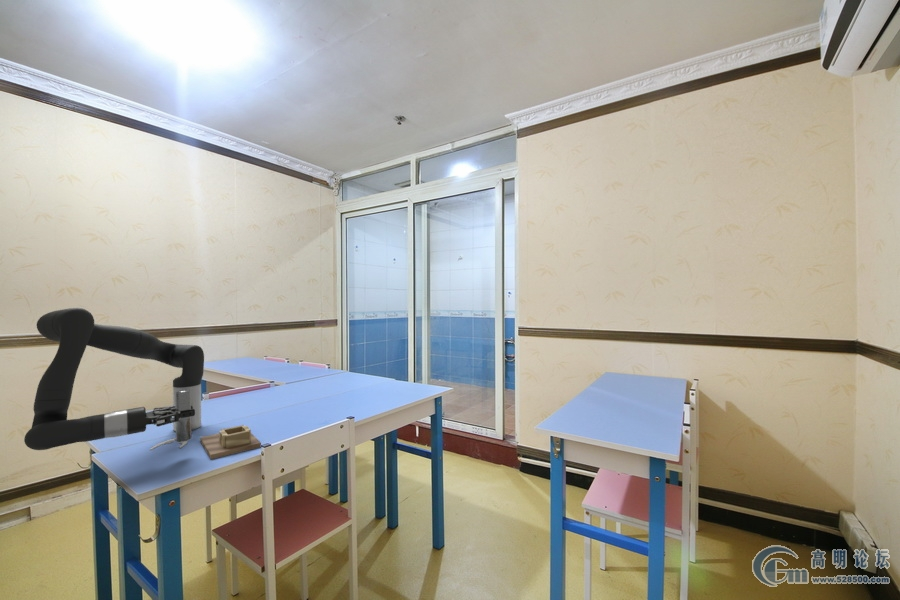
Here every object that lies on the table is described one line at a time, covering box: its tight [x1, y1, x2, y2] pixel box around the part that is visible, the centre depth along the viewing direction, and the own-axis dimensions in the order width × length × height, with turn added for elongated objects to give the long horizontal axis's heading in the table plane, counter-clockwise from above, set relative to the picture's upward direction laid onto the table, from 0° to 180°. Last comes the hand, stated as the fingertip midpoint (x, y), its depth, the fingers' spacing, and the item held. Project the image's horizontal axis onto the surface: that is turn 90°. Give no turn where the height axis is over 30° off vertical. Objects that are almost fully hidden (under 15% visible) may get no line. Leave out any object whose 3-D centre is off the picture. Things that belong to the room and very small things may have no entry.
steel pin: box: [175, 389, 192, 443], centre depth 122 cm, size 4×4×16 cm
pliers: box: [149, 437, 188, 451], centre depth 136 cm, size 10×2×15 cm
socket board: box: [199, 424, 262, 460], centre depth 133 cm, size 20×15×6 cm
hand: (193, 410), depth 124 cm, fingers closed on steel pin, 4 cm apart
